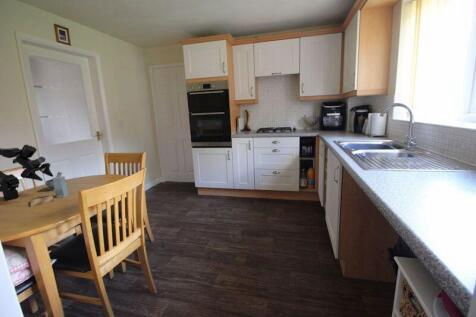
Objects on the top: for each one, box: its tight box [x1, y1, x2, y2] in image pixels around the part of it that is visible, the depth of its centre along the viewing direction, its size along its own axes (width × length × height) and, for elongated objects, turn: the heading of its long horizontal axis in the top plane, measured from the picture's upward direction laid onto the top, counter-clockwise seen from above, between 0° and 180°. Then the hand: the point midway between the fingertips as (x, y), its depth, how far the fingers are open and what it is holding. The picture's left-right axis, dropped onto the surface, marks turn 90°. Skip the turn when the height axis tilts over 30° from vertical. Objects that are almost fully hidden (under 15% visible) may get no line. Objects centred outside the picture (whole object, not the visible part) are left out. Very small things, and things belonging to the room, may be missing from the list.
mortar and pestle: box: [44, 171, 63, 192], centre depth 167 cm, size 11×9×12 cm
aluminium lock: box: [51, 175, 69, 198], centre depth 152 cm, size 4×5×13 cm
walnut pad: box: [29, 195, 55, 207], centre depth 144 cm, size 11×10×1 cm
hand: (47, 178), depth 150 cm, fingers open, 9 cm apart
